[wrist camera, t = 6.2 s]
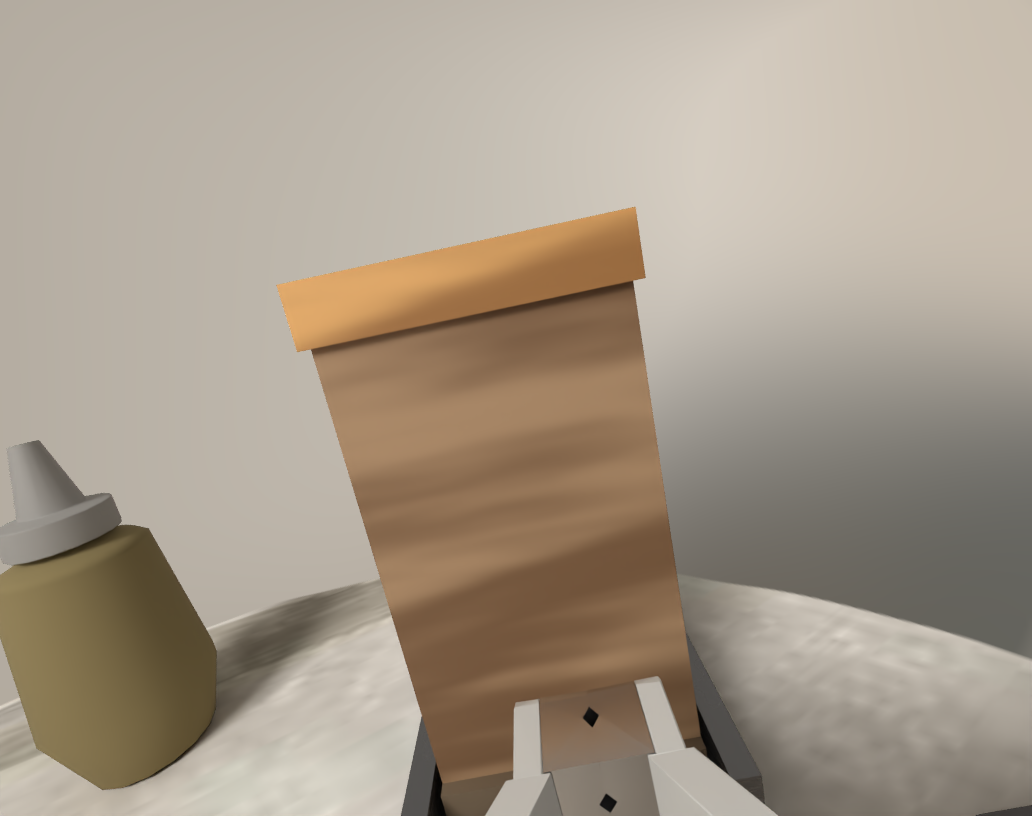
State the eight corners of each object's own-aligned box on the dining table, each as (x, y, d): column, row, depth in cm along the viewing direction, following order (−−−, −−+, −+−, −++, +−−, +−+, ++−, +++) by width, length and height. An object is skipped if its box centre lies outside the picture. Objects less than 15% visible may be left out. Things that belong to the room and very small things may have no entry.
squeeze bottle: (193, 789, 24) (41, 448, 20) (21, 837, 23) (-172, 495, 19) (258, 670, 32) (157, 409, 28) (131, 704, 31) (10, 441, 27)
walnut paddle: (719, 781, 18) (637, 205, 14) (443, 830, 18) (273, 284, 14) (681, 695, 22) (608, 225, 17) (454, 737, 22) (325, 287, 18)
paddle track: (769, 842, 17) (761, 775, 16) (417, 904, 17) (395, 840, 17) (657, 608, 30) (650, 565, 29) (456, 647, 30) (444, 605, 29)
